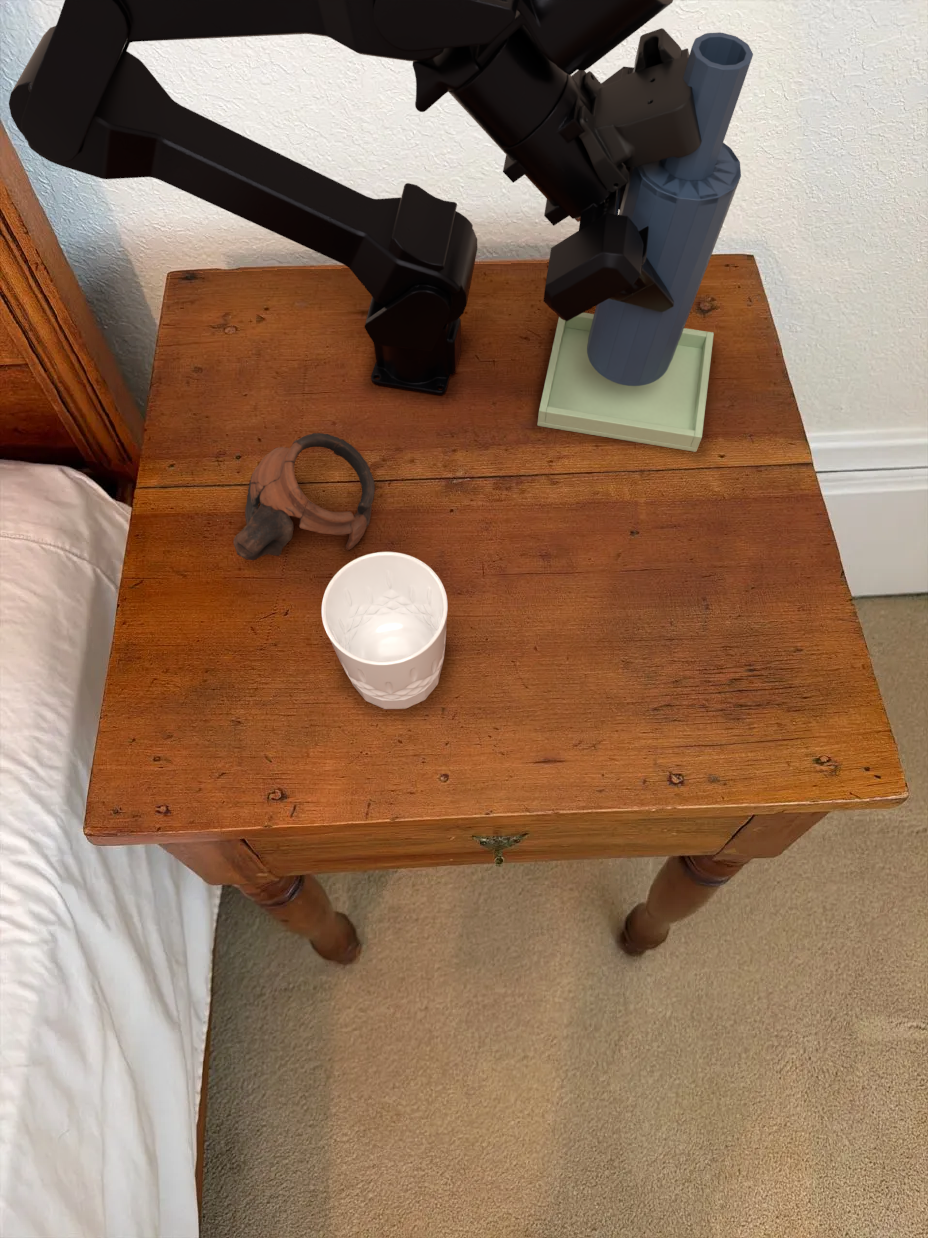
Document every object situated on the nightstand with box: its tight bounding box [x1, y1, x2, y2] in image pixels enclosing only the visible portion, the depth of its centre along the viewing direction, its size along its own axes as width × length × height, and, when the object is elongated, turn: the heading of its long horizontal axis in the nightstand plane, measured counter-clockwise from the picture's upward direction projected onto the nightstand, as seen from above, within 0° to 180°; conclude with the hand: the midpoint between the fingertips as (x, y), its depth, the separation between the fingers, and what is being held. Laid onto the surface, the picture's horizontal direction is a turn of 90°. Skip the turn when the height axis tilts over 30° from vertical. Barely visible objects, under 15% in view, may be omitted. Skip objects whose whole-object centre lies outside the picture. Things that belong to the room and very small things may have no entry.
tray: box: [536, 312, 715, 453], centre depth 74 cm, size 13×11×2 cm
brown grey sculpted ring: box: [233, 432, 376, 561], centre depth 67 cm, size 12×10×8 cm
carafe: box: [587, 32, 754, 386], centre depth 61 cm, size 7×7×24 cm
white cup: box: [320, 551, 449, 710], centre depth 60 cm, size 8×8×10 cm
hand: (671, 270), depth 64 cm, fingers closed on carafe, 7 cm apart
